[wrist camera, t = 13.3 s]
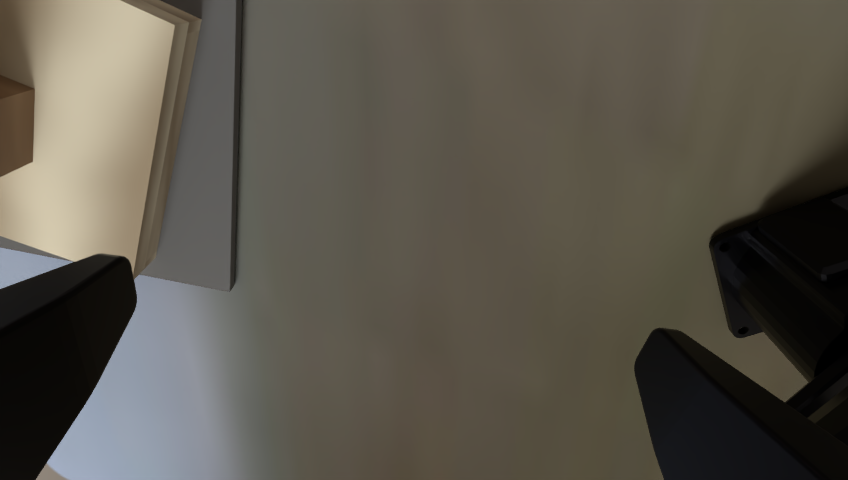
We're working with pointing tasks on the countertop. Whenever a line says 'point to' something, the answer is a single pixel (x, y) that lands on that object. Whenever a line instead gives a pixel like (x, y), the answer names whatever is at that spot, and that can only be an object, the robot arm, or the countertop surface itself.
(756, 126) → the countertop surface
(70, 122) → the lid
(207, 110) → the mat
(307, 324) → the countertop surface
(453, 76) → the countertop surface
